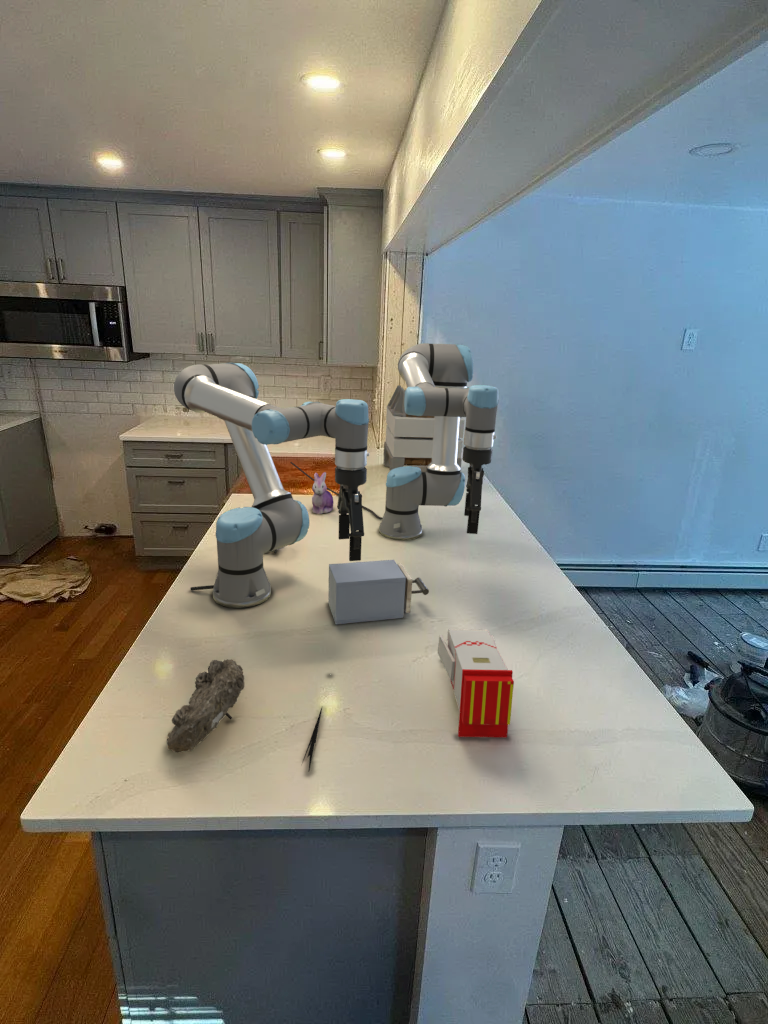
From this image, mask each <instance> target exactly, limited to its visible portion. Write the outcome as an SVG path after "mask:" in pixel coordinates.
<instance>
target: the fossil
mask: <svg viewBox="0 0 768 1024" xmlns="http://www.w3.org/2000/svg"><path fill="white" fill-rule="evenodd" d="M243 670H244V669H243V667H242V665H240V664H237V662H236V661H235V660H234V659H232V658H231V659H227V658H226V659H224V660H223V661H222V660H217V659H212V660H211V661H210V663H209V665H208V666H207V671H201V672H199V673H198V674H197V675H196V676H195V680H194V684H195V685H194V687H195V689H194V690H193V693H192V694H191V697H190V698H189V700H188V704H184V705H182V706H181V707H180V709H177V710H176V711H175V713H174V715H173V716H172V718H171V723H172V724H173V727H172V730H171V731H170V732H168V734H167V738H166V741H167V742H166V745H167V749H168V750H169V751H173V752H174V753H176V754H178V753H182V752H188V751H189V752H192V751H193V750H195V748H196V747H197V746H199V744H200V743H201V742H203V741H204V740H205V739H206V738H207V737H208V736H209V735H210V734H211V733H212V732H214V730H215V729H217V727H218V726H219V724H220V722H221V721H222V720H223V719H224V718H225V716H226V717H227V719H229V720H233V717H232V715H230V714H229V710H230V709H231V708H234V706H235V704H236V703H237V702H238V699H239V697H240V695H241V693H242V691H243V690H245V689H244V688H245V675H244V671H243Z"/></svg>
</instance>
